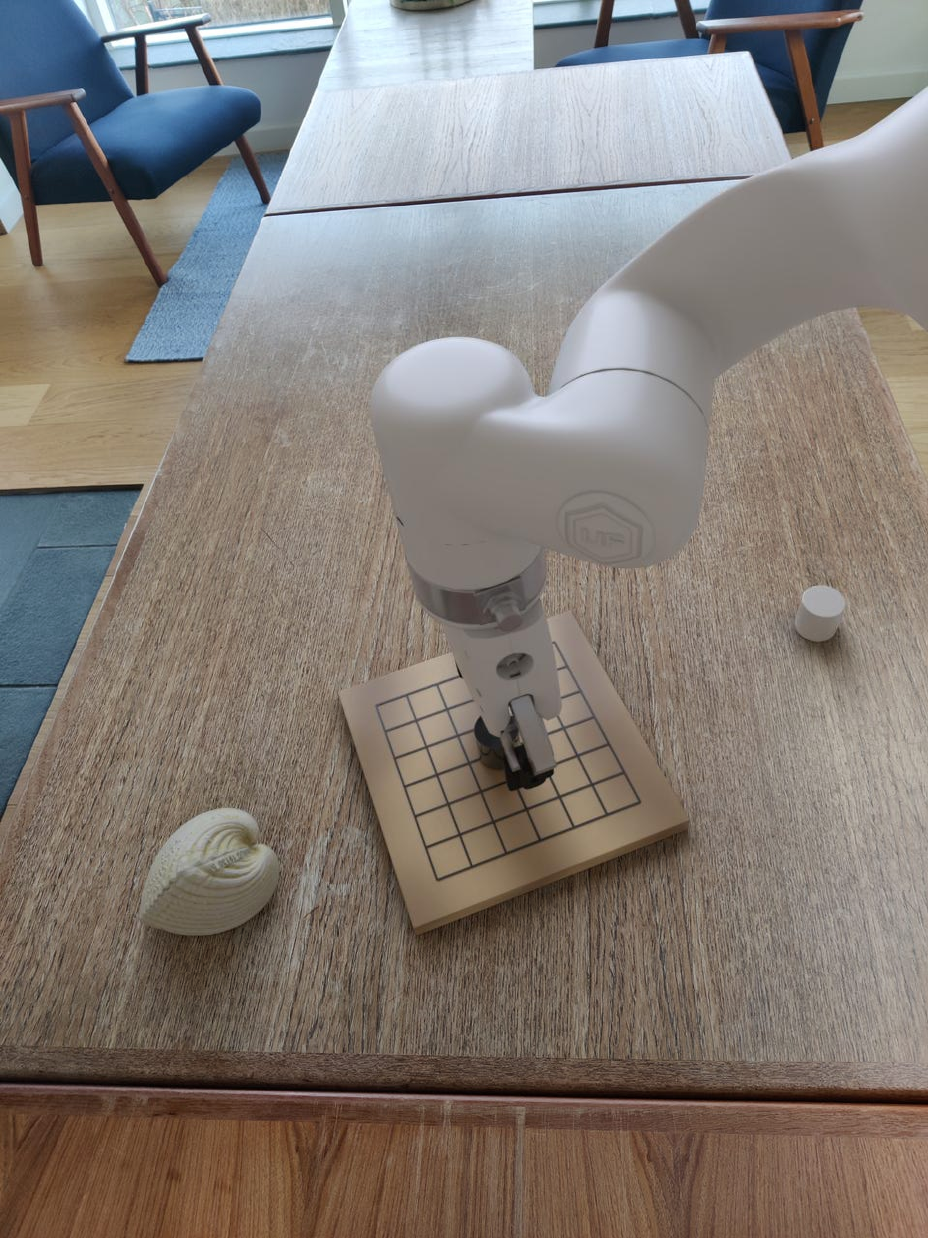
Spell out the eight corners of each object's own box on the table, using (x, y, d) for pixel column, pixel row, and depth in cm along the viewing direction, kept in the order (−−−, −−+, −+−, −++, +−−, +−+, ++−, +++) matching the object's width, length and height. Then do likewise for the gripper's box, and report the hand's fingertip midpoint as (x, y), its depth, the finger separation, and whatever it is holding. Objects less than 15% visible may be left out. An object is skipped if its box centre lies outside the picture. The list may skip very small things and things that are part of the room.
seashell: (309, 880, 60) (205, 937, 54) (260, 918, 65) (162, 973, 59) (253, 776, 61) (147, 820, 56) (210, 821, 67) (110, 866, 61)
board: (570, 620, 74) (570, 608, 72) (688, 829, 61) (690, 819, 60) (341, 701, 71) (337, 690, 70) (416, 936, 59) (413, 928, 58)
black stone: (511, 725, 66) (509, 703, 64) (527, 761, 64) (525, 739, 62) (471, 740, 66) (467, 718, 63) (486, 776, 64) (482, 754, 61)
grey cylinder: (821, 605, 72) (830, 579, 69) (844, 634, 70) (854, 609, 67) (786, 618, 72) (794, 592, 69) (808, 647, 70) (817, 622, 67)
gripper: (609, 654, 43) (606, 808, 57) (486, 443, 54) (508, 615, 67) (465, 707, 42) (498, 851, 56) (369, 482, 53) (415, 649, 66)
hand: (503, 722), depth 62 cm, fingers open, 9 cm apart
